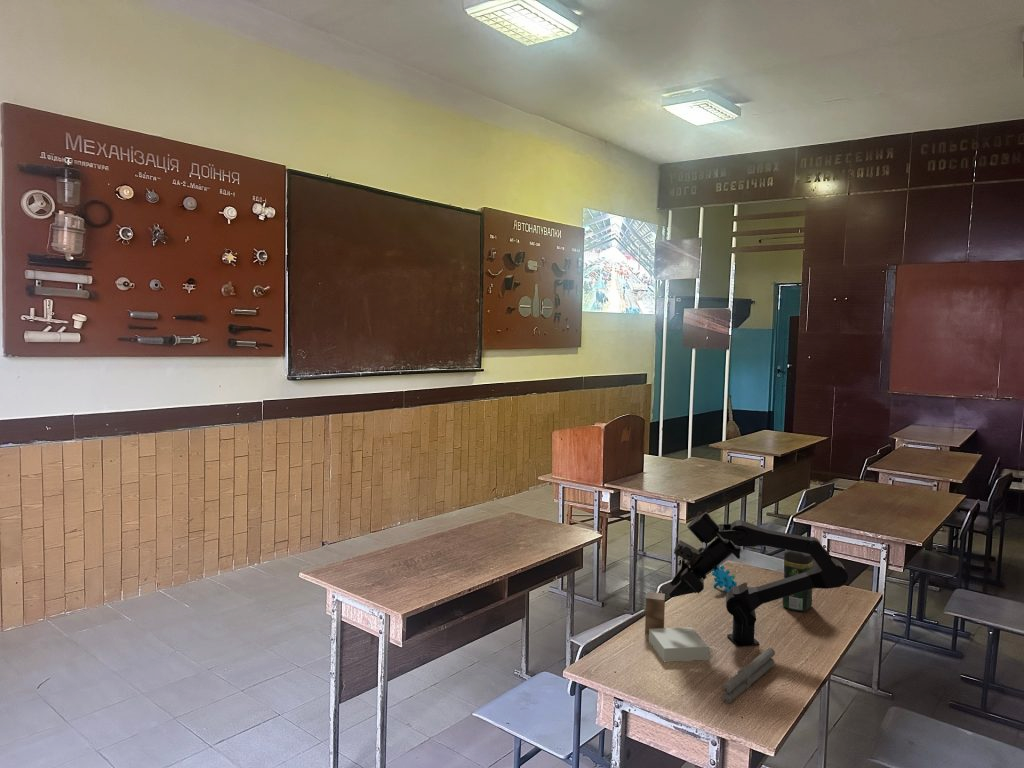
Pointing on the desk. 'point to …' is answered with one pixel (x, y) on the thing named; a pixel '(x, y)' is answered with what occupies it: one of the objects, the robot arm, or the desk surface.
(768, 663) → the metal rod assembly
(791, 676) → the desk surface
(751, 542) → the robot arm
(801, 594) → the coffee jar
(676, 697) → the desk surface
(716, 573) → the gear
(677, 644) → the plate
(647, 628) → the walnut block
